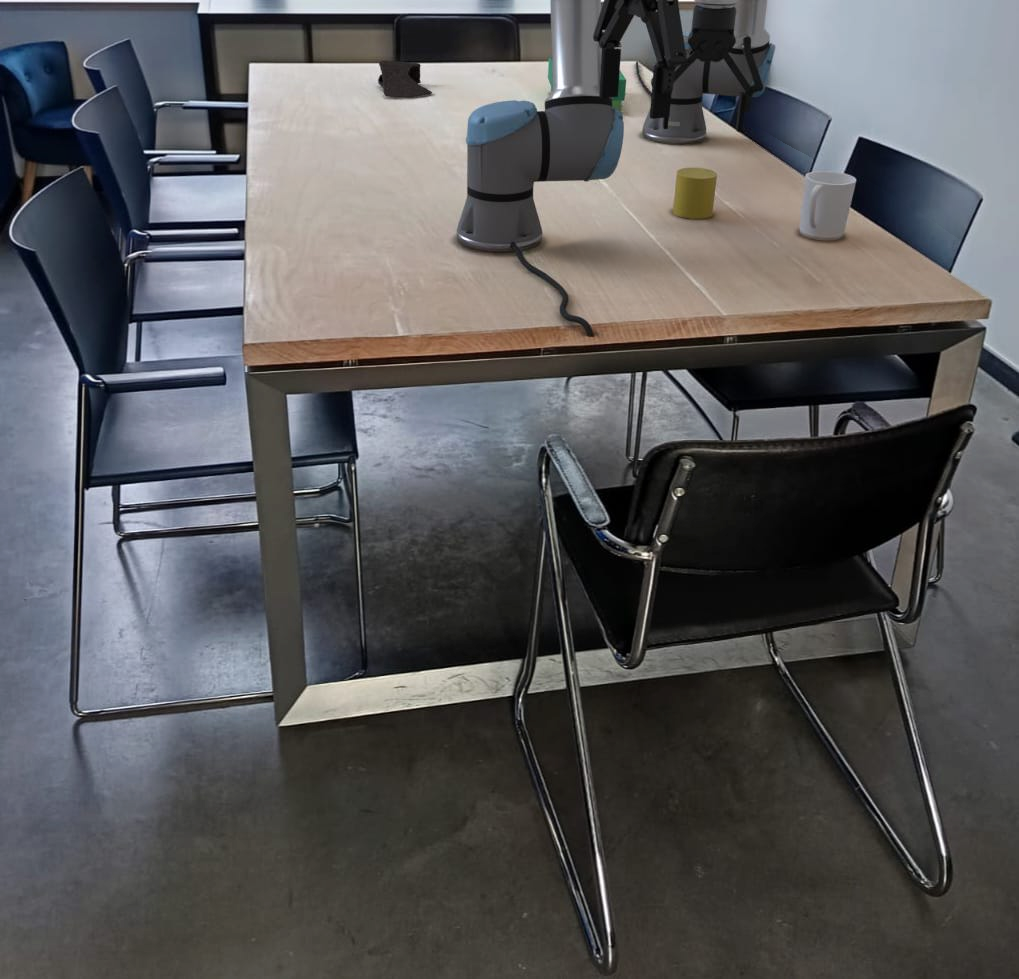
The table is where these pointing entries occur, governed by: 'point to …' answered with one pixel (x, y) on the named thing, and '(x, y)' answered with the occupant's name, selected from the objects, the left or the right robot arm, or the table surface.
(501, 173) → the left robot arm
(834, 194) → the mug
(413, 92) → the axe head
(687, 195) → the canister
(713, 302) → the table surface
